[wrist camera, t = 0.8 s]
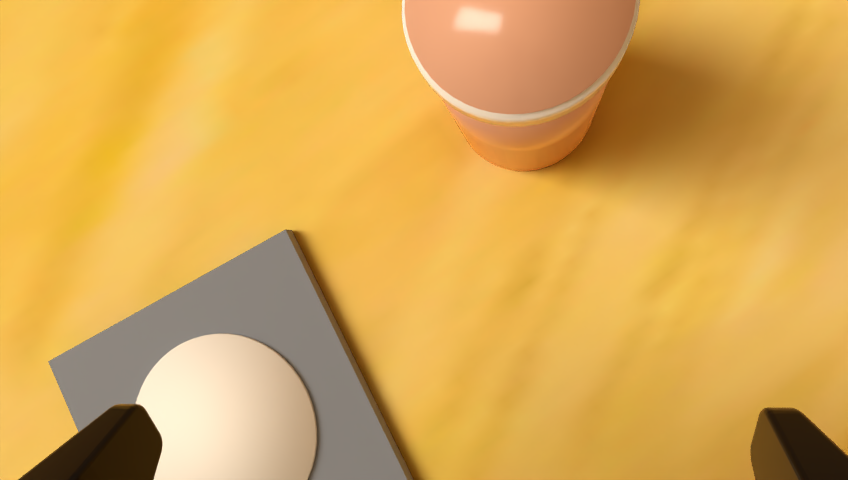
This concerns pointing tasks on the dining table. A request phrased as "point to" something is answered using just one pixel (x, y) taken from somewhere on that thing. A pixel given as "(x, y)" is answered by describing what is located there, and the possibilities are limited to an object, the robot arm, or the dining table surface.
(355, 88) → the dining table surface
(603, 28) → the terracotta tube
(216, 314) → the card
